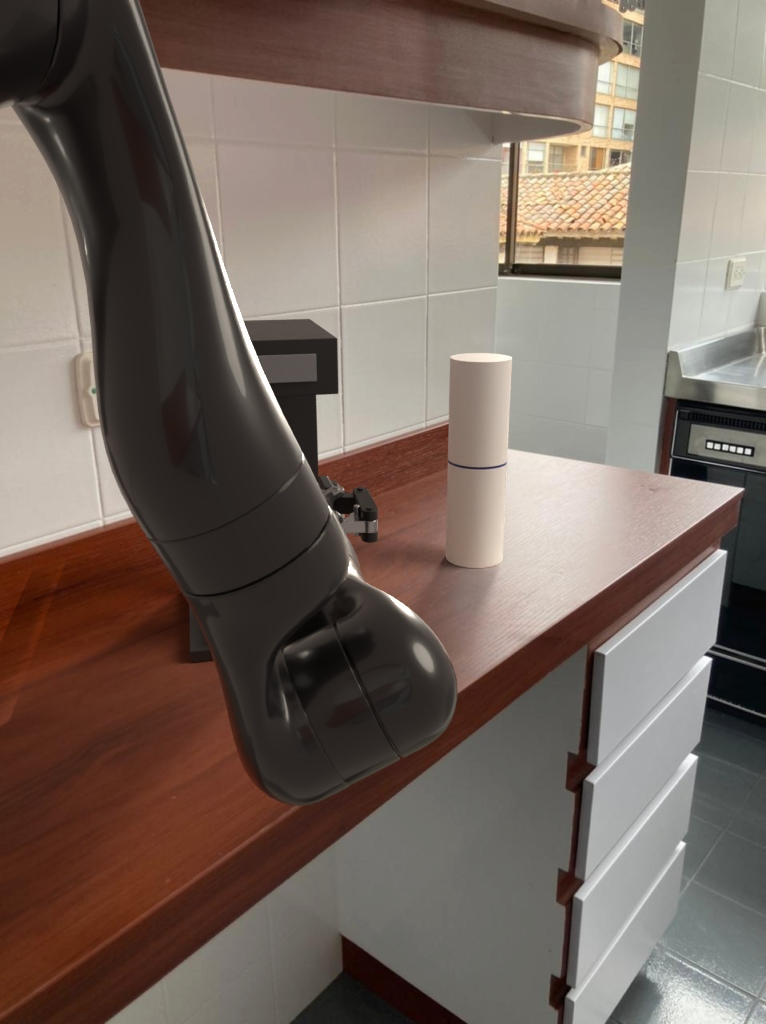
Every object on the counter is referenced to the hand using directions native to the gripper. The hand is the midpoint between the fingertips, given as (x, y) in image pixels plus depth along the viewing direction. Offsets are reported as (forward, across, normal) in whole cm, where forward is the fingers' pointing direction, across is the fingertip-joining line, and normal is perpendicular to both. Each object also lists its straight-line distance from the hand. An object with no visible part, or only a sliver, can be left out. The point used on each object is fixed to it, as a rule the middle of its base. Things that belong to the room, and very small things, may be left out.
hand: (271, 490), depth 68 cm
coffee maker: (+15, 0, +19) cm, 24 cm away
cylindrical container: (+25, -27, +19) cm, 41 cm away
